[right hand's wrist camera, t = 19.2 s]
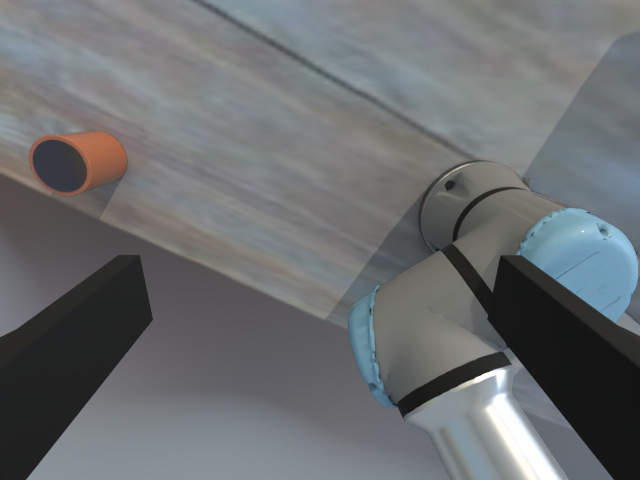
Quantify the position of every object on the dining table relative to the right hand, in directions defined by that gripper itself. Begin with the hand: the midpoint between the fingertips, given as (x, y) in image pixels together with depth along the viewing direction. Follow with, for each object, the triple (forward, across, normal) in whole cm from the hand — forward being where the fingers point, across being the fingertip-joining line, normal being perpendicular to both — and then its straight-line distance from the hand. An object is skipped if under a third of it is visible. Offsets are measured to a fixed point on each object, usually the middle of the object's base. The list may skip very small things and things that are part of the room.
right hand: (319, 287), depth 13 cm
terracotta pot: (+37, +30, 0) cm, 47 cm away
